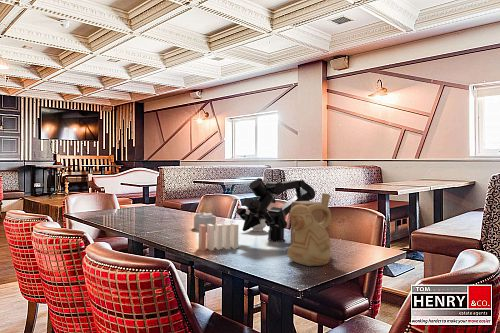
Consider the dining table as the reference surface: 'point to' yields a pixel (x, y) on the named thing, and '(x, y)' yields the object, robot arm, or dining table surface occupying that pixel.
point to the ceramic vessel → (310, 234)
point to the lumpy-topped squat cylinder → (204, 220)
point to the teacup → (259, 226)
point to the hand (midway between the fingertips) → (243, 230)
